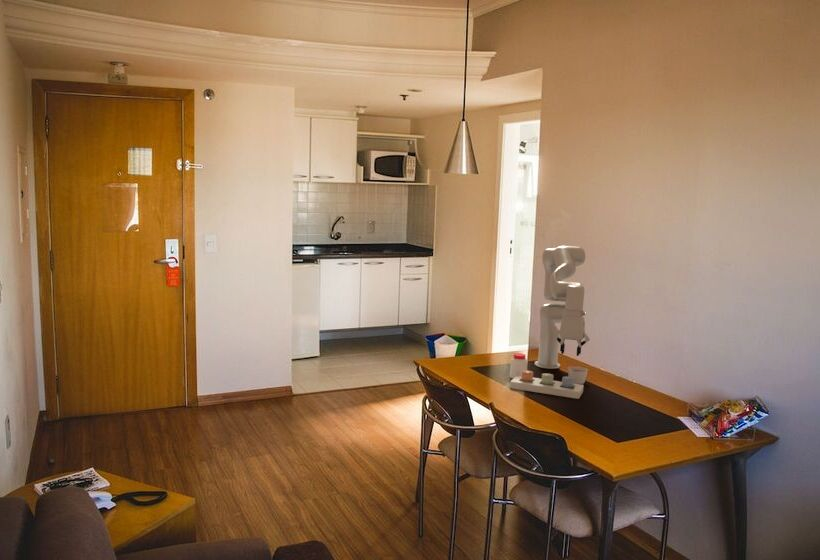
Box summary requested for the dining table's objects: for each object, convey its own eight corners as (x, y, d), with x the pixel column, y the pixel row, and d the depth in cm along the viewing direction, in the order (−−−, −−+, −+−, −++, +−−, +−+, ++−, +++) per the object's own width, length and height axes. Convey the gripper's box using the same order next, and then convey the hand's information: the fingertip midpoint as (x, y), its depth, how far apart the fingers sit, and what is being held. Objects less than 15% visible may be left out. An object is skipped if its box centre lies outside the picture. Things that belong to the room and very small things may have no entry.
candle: (574, 385, 310) (575, 372, 309) (562, 380, 318) (563, 367, 317) (590, 384, 313) (591, 370, 313) (578, 378, 322) (579, 365, 321)
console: (516, 381, 312) (517, 375, 312) (583, 391, 301) (583, 385, 300) (510, 388, 301) (510, 381, 301) (578, 398, 290) (579, 392, 289)
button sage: (542, 381, 304) (543, 372, 303) (553, 383, 302) (554, 374, 301) (540, 384, 299) (540, 375, 299) (551, 386, 297) (552, 377, 297)
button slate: (562, 384, 300) (563, 375, 300) (574, 386, 299) (575, 377, 298) (560, 387, 296) (561, 378, 295) (572, 389, 294) (573, 380, 293)
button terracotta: (522, 378, 307) (523, 369, 307) (533, 380, 305) (534, 371, 305) (520, 381, 303) (520, 372, 302) (531, 382, 301) (531, 374, 300)
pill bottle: (525, 375, 322) (527, 353, 321) (526, 380, 315) (528, 357, 313) (509, 374, 323) (510, 352, 322) (510, 379, 315) (511, 356, 314)
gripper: (595, 314, 293) (591, 355, 295) (555, 309, 299) (552, 349, 302) (592, 317, 286) (589, 359, 289) (551, 312, 293) (548, 353, 295)
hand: (570, 353), depth 295 cm, fingers open, 5 cm apart
